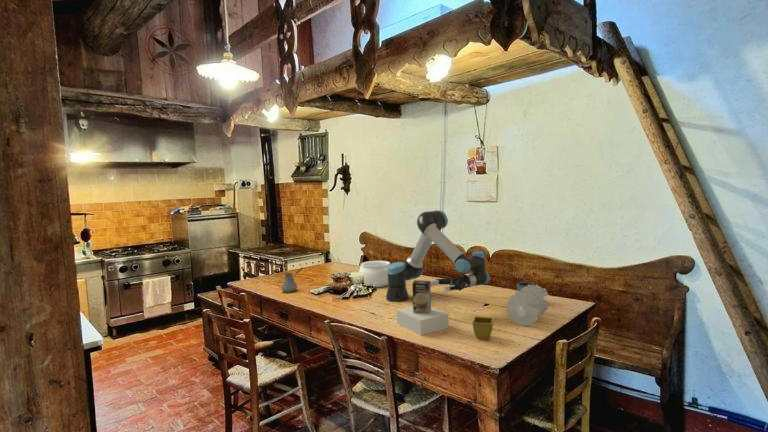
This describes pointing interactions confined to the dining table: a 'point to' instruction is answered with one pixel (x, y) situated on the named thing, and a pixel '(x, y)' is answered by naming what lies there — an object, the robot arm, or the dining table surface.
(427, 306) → the coffee box
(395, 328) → the dining table surface
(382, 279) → the pot
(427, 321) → the painted box
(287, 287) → the coffee pot
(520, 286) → the drinking glass
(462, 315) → the dining table surface
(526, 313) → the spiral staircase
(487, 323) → the flower pot
